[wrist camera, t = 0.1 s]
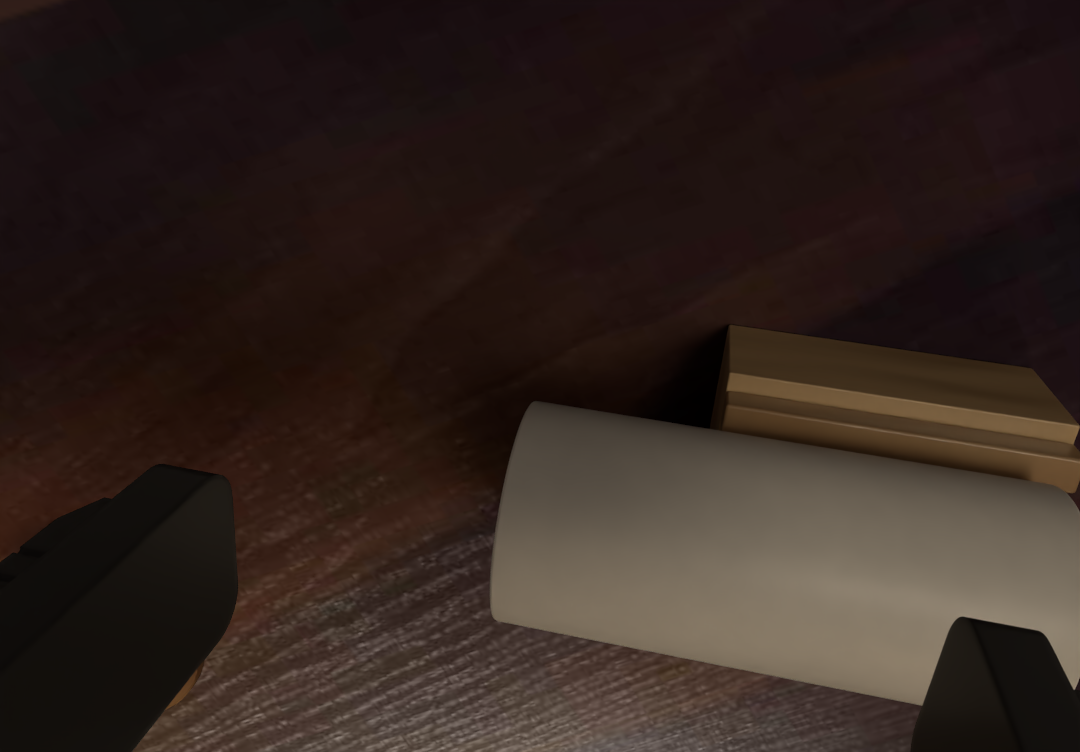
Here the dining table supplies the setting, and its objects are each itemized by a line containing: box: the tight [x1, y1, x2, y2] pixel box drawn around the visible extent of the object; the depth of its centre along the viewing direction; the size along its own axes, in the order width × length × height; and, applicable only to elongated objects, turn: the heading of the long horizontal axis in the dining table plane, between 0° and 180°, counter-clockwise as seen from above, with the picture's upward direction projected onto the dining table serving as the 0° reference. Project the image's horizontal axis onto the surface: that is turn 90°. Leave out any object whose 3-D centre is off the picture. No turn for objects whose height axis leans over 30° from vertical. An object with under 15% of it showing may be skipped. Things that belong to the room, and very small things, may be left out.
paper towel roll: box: [490, 401, 1080, 705], centre depth 22 cm, size 6×13×6 cm, turn 85°
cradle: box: [710, 325, 1080, 493], centre depth 26 cm, size 7×9×5 cm
